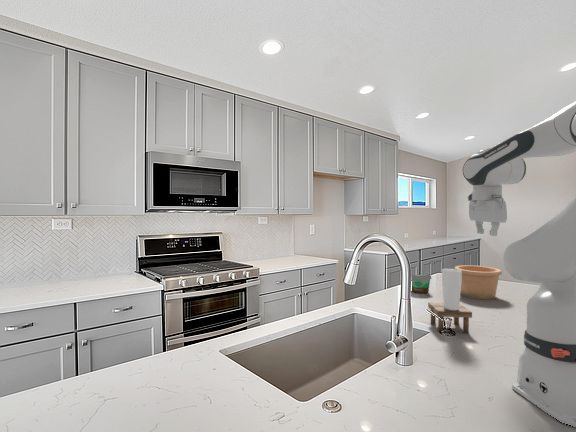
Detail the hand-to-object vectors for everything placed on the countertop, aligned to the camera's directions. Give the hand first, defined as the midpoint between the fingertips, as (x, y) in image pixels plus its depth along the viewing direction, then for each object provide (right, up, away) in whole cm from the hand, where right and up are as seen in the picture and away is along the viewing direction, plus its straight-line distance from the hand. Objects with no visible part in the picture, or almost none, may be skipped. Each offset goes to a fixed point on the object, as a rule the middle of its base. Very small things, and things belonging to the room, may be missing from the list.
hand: (486, 234), depth 118 cm
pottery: (+30, -36, +60) cm, 76 cm away
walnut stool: (-8, -37, +12) cm, 39 cm away
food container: (+2, -36, +65) cm, 74 cm away
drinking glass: (-8, -29, +9) cm, 32 cm away
